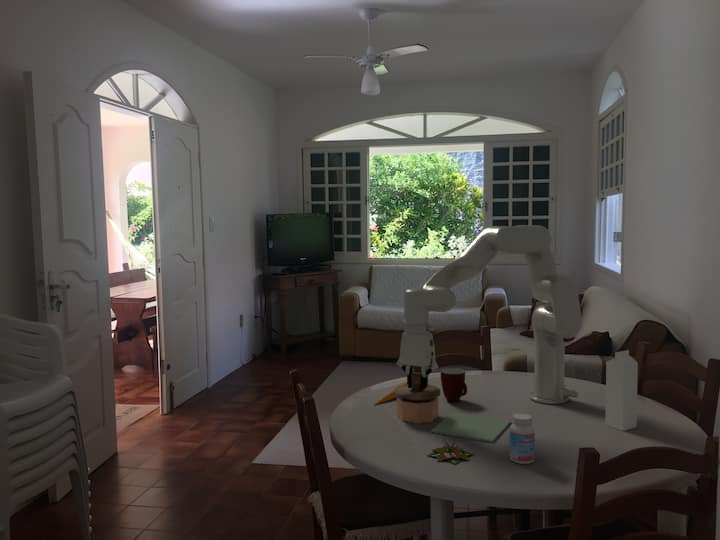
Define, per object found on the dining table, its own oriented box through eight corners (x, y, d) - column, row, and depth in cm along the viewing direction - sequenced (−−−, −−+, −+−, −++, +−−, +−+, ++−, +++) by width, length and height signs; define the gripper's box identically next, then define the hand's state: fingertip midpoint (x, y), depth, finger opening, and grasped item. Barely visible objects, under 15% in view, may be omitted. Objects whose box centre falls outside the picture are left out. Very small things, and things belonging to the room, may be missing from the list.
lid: (447, 390, 186) (446, 371, 186) (429, 402, 174) (429, 382, 174) (406, 385, 193) (406, 366, 193) (386, 396, 181) (386, 377, 181)
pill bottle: (521, 466, 146) (521, 421, 145) (504, 458, 151) (504, 414, 150) (540, 461, 148) (540, 417, 148) (522, 453, 154) (522, 410, 153)
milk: (636, 427, 171) (638, 352, 169) (622, 431, 168) (624, 354, 166) (618, 421, 177) (620, 348, 175) (604, 425, 174) (606, 350, 172)
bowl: (442, 413, 187) (442, 395, 186) (427, 425, 176) (427, 405, 176) (408, 408, 192) (408, 390, 192) (392, 419, 182) (392, 400, 182)
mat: (510, 422, 177) (510, 420, 177) (492, 442, 162) (492, 440, 162) (453, 414, 186) (453, 412, 186) (430, 432, 170) (430, 430, 170)
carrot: (407, 393, 212) (402, 381, 213) (416, 390, 209) (411, 378, 210) (371, 413, 198) (366, 400, 198) (380, 410, 195) (375, 397, 195)
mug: (476, 402, 198) (475, 372, 197) (459, 407, 193) (459, 377, 192) (451, 395, 206) (451, 367, 205) (435, 400, 201) (435, 371, 200)
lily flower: (483, 456, 154) (483, 438, 154) (457, 470, 145) (457, 452, 145) (444, 445, 162) (444, 428, 162) (417, 458, 153) (417, 441, 153)
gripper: (446, 328, 181) (447, 388, 183) (397, 325, 190) (398, 381, 191) (437, 333, 175) (438, 394, 176) (386, 329, 183) (387, 387, 184)
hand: (417, 387), depth 184 cm, fingers closed on lid, 3 cm apart
